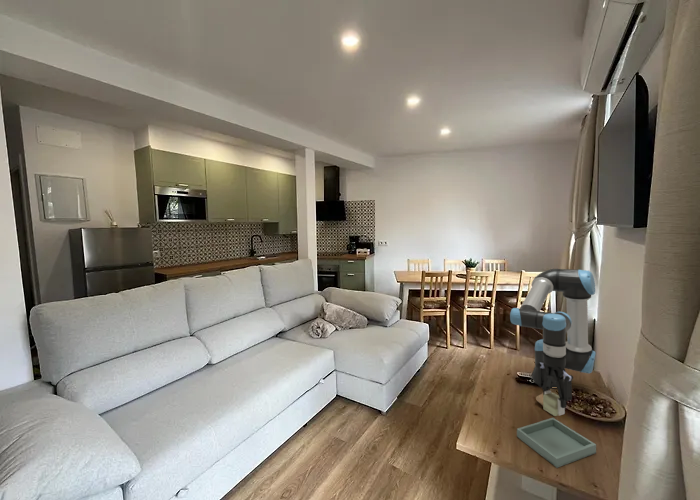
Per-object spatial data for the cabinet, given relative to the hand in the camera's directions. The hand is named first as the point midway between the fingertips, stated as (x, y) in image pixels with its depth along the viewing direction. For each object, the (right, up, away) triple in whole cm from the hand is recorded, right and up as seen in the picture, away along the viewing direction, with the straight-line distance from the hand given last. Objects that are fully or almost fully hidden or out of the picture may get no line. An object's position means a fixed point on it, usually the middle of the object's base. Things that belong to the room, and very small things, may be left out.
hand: (554, 410), depth 124 cm
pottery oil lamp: (+13, -12, +25) cm, 31 cm away
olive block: (0, 0, 0) cm, 1 cm away
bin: (+1, -14, +1) cm, 15 cm away
